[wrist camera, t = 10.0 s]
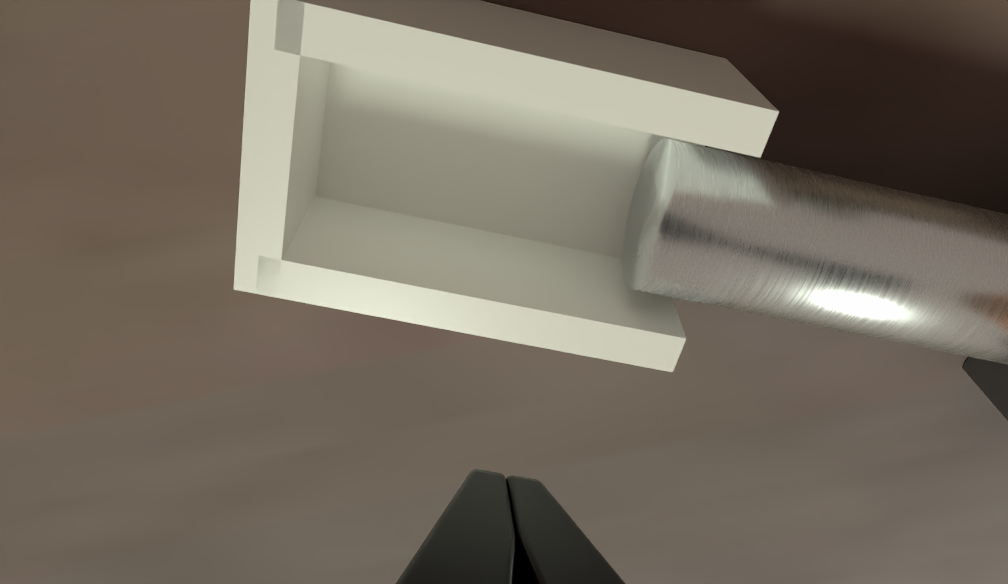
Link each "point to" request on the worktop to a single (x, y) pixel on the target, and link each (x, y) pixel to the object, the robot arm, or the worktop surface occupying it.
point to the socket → (990, 380)
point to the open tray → (469, 166)
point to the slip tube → (818, 250)
